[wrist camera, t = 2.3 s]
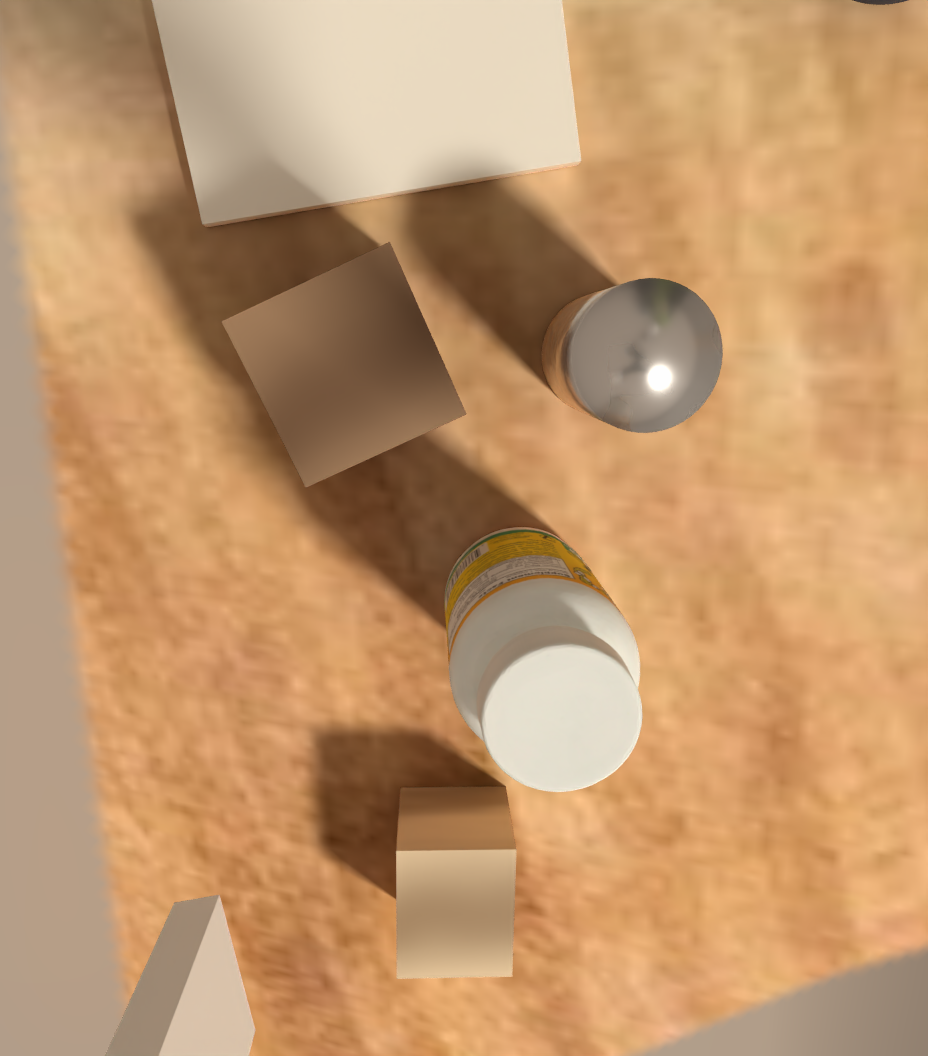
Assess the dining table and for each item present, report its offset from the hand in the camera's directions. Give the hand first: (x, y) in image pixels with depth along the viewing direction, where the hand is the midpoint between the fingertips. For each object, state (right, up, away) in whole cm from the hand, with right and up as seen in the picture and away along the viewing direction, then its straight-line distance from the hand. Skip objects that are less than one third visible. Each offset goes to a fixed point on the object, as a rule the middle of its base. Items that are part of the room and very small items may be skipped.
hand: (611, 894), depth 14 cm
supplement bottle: (-1, +4, +15) cm, 16 cm away
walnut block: (-6, +12, +13) cm, 19 cm away
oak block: (-3, -6, +17) cm, 19 cm away
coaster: (-6, +23, +11) cm, 26 cm away
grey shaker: (+2, +12, +13) cm, 18 cm away
